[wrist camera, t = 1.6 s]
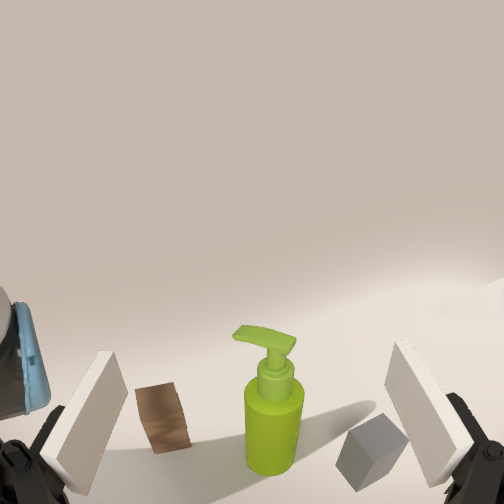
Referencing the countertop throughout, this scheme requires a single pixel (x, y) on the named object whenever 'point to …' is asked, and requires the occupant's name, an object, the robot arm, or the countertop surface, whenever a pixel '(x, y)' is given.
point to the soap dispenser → (271, 403)
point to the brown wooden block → (162, 418)
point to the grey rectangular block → (370, 451)
